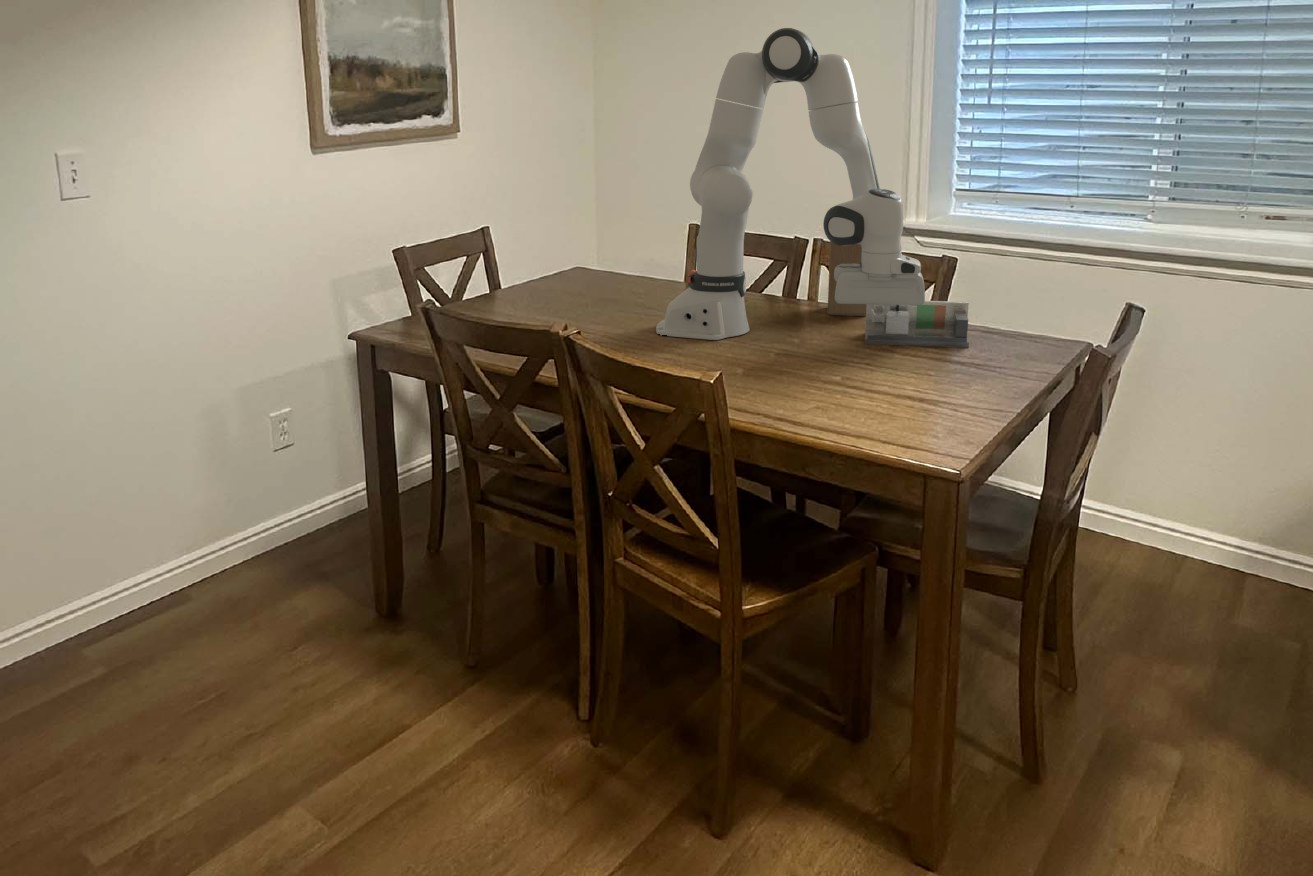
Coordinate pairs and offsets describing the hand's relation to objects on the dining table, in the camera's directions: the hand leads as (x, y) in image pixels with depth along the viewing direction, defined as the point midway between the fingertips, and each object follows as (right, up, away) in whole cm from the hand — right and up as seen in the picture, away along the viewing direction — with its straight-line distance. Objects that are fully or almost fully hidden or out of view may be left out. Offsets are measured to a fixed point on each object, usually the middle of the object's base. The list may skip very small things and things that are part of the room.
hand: (878, 322), depth 258 cm
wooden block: (-2, +5, +28) cm, 28 cm away
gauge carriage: (+4, -2, +1) cm, 5 cm away
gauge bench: (+9, -4, +2) cm, 10 cm away
